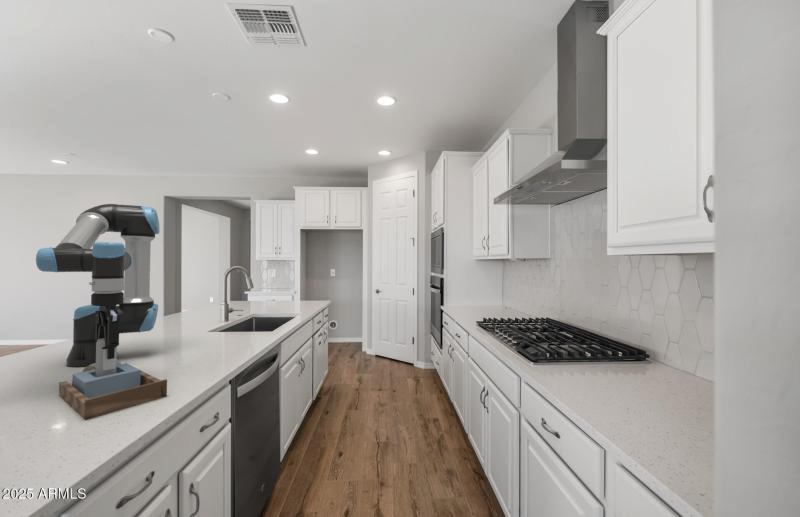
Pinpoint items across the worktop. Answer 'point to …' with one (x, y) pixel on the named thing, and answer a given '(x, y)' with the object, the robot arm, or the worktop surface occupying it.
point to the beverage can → (99, 359)
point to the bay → (113, 397)
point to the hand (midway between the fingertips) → (106, 367)
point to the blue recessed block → (106, 381)
